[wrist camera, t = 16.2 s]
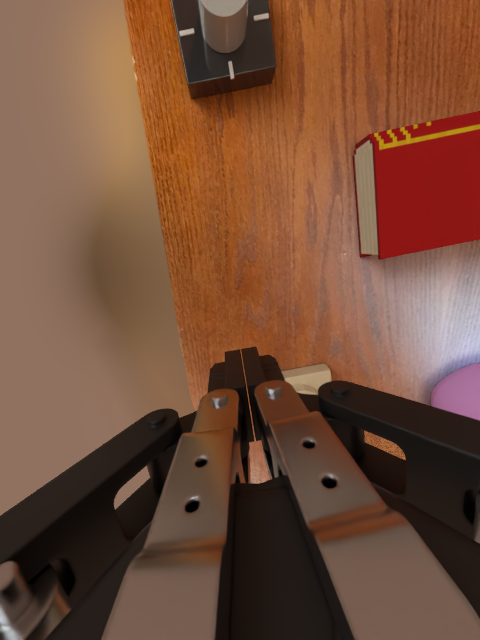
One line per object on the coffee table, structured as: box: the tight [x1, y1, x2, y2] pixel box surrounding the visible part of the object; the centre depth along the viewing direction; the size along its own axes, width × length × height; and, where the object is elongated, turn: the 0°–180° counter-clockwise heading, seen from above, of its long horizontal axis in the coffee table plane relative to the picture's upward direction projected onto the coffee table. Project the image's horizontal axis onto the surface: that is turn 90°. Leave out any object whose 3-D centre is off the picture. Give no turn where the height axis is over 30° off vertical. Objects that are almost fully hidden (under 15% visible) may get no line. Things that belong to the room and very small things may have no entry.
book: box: [353, 111, 480, 259], centre depth 31 cm, size 18×13×5 cm
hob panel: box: [171, 0, 276, 99], centre depth 27 cm, size 9×9×3 cm
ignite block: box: [281, 363, 331, 395], centre depth 39 cm, size 10×9×4 cm
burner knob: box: [197, 0, 249, 53], centre depth 24 cm, size 4×4×5 cm
